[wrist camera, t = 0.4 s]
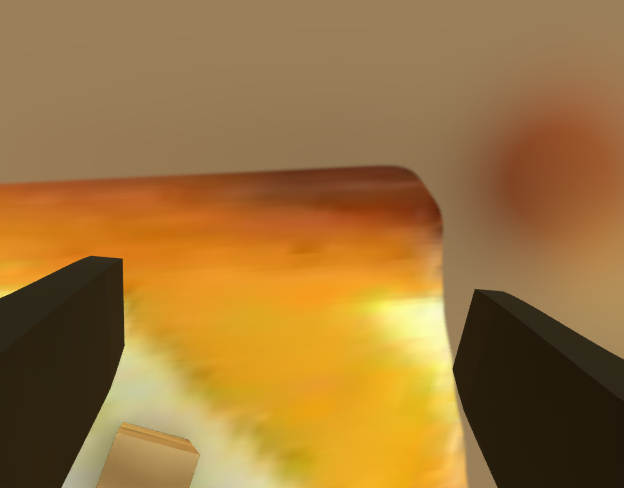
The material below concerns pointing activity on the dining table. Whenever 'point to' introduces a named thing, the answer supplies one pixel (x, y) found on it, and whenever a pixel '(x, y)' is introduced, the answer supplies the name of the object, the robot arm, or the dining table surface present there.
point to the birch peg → (148, 460)
